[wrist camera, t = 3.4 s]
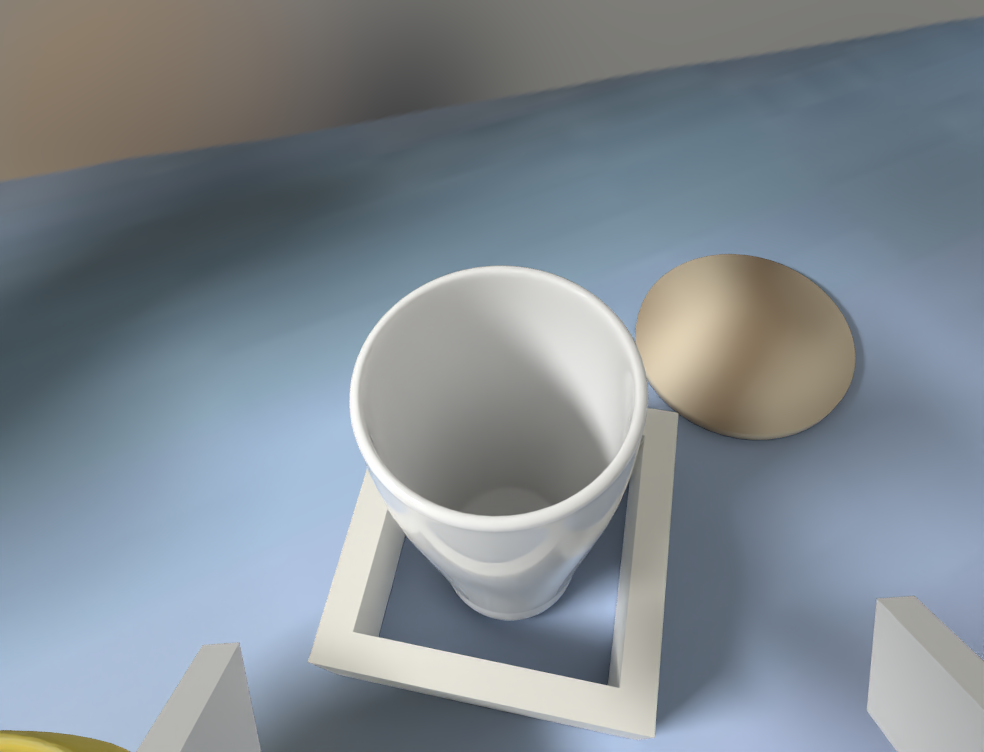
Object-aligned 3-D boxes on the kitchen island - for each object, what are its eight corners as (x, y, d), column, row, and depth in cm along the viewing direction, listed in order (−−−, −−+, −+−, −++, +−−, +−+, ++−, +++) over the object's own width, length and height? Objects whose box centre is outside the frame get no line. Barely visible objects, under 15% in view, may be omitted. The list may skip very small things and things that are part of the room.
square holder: (336, 674, 26) (308, 662, 22) (411, 411, 31) (397, 369, 28) (635, 740, 24) (654, 738, 21) (660, 452, 30) (678, 412, 26)
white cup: (626, 557, 28) (718, 381, 15) (508, 682, 26) (491, 608, 12) (511, 448, 30) (501, 215, 17) (395, 554, 28) (282, 380, 15)
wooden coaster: (624, 420, 31) (626, 414, 30) (644, 250, 35) (646, 242, 35) (856, 456, 29) (862, 451, 29) (844, 275, 34) (849, 267, 34)
